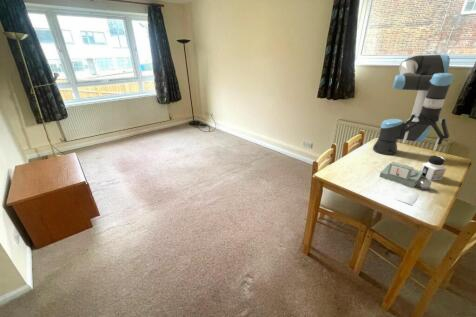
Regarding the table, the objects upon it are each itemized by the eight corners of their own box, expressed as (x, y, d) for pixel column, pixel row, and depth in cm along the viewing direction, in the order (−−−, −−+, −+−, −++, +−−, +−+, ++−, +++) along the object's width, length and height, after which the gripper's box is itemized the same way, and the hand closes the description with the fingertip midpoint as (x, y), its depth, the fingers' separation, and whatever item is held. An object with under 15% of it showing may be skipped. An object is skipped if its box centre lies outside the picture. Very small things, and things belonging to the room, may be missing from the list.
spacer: (418, 184, 125) (420, 178, 123) (429, 187, 121) (432, 181, 120) (416, 188, 122) (418, 181, 120) (427, 191, 118) (430, 185, 117)
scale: (389, 166, 143) (393, 152, 139) (421, 176, 132) (427, 161, 127) (379, 177, 133) (383, 162, 129) (413, 188, 121) (419, 172, 117)
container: (430, 181, 127) (438, 160, 121) (418, 174, 134) (425, 154, 128) (442, 179, 128) (450, 159, 122) (429, 172, 135) (437, 153, 129)
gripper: (400, 104, 117) (390, 141, 126) (464, 112, 100) (447, 155, 109) (405, 101, 121) (394, 138, 131) (467, 109, 104) (450, 150, 113)
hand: (418, 146), depth 120 cm, fingers open, 13 cm apart
